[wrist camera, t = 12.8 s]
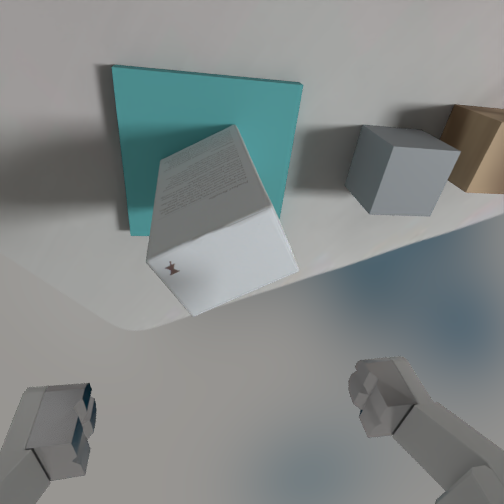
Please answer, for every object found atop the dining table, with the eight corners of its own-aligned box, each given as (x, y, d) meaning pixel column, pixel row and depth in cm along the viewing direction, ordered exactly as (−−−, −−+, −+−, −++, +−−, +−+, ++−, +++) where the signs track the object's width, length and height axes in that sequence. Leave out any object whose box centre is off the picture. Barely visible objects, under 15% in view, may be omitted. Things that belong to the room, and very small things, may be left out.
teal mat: (132, 229, 28) (130, 235, 27) (114, 64, 21) (111, 67, 20) (274, 230, 30) (276, 236, 29) (299, 82, 23) (303, 85, 23)
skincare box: (188, 206, 26) (189, 321, 17) (158, 158, 24) (139, 261, 14) (260, 173, 26) (303, 274, 16) (237, 120, 23) (271, 202, 14)
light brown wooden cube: (427, 166, 29) (465, 192, 25) (453, 104, 26) (502, 122, 22) (477, 169, 30) (522, 195, 26) (508, 109, 27) (564, 127, 23)
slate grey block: (344, 185, 29) (369, 214, 25) (362, 124, 26) (394, 146, 22) (397, 187, 30) (430, 216, 26) (420, 129, 27) (461, 151, 23)
